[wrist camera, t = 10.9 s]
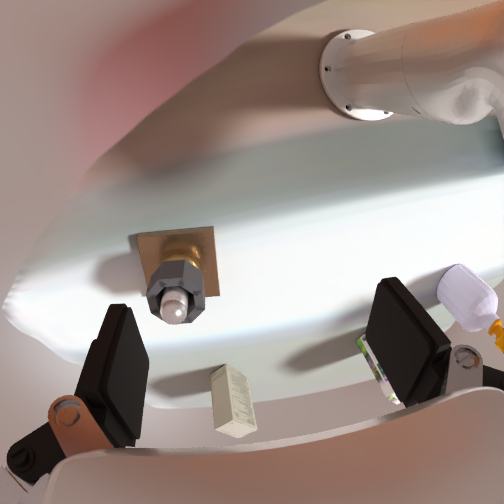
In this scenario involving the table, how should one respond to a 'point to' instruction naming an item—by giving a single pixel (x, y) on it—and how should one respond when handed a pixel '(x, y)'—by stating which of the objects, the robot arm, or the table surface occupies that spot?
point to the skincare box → (232, 403)
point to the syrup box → (377, 370)
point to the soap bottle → (471, 302)
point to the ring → (177, 276)
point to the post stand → (180, 248)
